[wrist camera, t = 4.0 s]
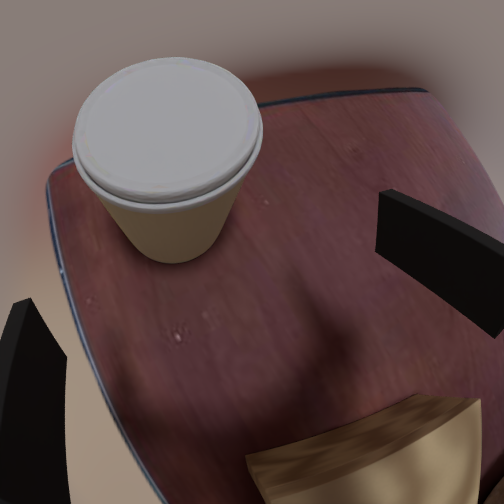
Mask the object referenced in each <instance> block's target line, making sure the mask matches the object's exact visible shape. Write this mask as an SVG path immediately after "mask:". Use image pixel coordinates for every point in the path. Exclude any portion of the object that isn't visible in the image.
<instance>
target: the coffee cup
mask: <svg viewBox="0 0 504 504" xmlns="http://www.w3.org/2000/svg"><path fill="white" fill-rule="evenodd" d="M262 137H263V124H262V119H261V115H260V112H259V109H258V107H257V104H256V101H255V99H254V97H253V96H252V94H251V92H250V91H249V89H248V88H247V87H246V86H245V85H244V83H243V82H242V81H241V80H239V79H238V78H237V77H235V76H234V75H233V74H232V73H230V72H229V71H227V70H225V69H223V68H221V67H219V66H217V65H214V64H212V63H209V62H205V61H201V60H197V59H191V58H179V57H172V58H171V57H170V58H159V59H153V60H148V61H144V62H141V63H137V64H134V65H132V66H129V67H127V68H124V69H123V70H120V71H119V72H117V73H115V74H113V75H112V76H110V77H109V78H107V79H106V80H105V81H104V82H102V83H101V84H100V85H99V86H98V87H97V88H96V89H95V90H94V91H93V92H92V93H91V94H90V96H89V97H88V98H87V99H86V101H85V102H84V104H83V106H82V107H81V109H80V111H79V114H78V117H77V120H76V124H75V128H74V133H73V139H72V150H73V157H74V161H75V164H76V167H77V170H78V172H79V174H80V175H81V177H82V179H83V180H84V181H85V183H86V184H87V185H88V186H89V188H90V189H91V190H92V191H93V192H94V193H96V195H97V196H98V198H99V199H100V201H101V202H102V204H103V205H104V206H105V208H106V209H107V211H108V212H109V213H110V215H111V216H112V218H113V219H114V220H115V222H116V223H117V224H118V226H119V227H120V228H121V229H122V231H123V232H124V233H125V235H126V236H127V237H128V239H129V240H130V241H131V242H132V244H133V245H134V246H135V247H136V248H137V249H138V250H139V251H140V252H141V253H143V254H144V255H145V256H147V257H149V258H151V259H153V260H155V261H159V262H163V263H181V262H186V261H189V260H192V259H194V258H196V257H198V256H200V255H201V254H203V253H204V252H205V251H206V250H208V249H209V248H210V247H211V246H212V244H213V243H214V242H215V240H216V238H217V237H218V235H219V233H220V231H221V229H222V227H223V225H224V223H225V220H226V218H227V216H228V214H229V212H230V210H231V207H232V205H233V203H234V201H235V199H236V197H237V194H238V192H239V190H240V188H241V186H242V183H243V181H244V179H245V176H246V175H247V173H248V172H249V170H250V169H251V167H252V166H253V164H254V162H255V160H256V158H257V156H258V154H259V151H260V148H261V143H262Z"/></svg>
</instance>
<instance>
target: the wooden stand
mask: <svg viewBox="0 0 504 504" xmlns="http://www.w3.org/2000/svg"><path fill="white" fill-rule="evenodd" d="M481 450H482V422H481V399H477V398H456V397H441V396H429V395H418V394H416V395H414V396H412V397H410V398H408V399H406V400H404V401H402V402H399V403H397V404H395V405H393V406H391V407H389V408H387V409H384V410H382V411H380V412H377V413H375V414H373V415H370V416H368V417H366V418H363V419H361V420H358V421H356V422H353V423H351V424H348V425H345V426H343V427H340V428H337V429H335V430H332V431H329V432H326V433H323V434H320V435H317V436H314V437H311V438H308V439H305V440H302V441H298V442H295V443H291V444H288V445H284V446H281V447H277V448H273V449H269V450H265V451H261V452H257V453H253V454H249V455H245V459H246V463H247V467H248V471H249V473H250V475H251V477H252V478H253V480H254V482H255V484H256V486H257V488H258V490H259V491H260V493H261V495H262V497H263V499H264V501H265V502H266V504H477V502H478V494H479V484H480V472H481Z"/></svg>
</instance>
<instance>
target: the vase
mask: <svg viewBox="0 0 504 504" xmlns="http://www.w3.org/2000/svg"><path fill="white" fill-rule="evenodd" d="M483 504H504V477H503V478H502V479H501V480H500V481H499V483H498V484H497V485H496V486H495V487H494V489H493V490H492V492H491V493H490V494H489V496H488V497H487V499H486V500H485V502H484V503H483Z"/></svg>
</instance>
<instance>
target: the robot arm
mask: <svg viewBox="0 0 504 504" xmlns="http://www.w3.org/2000/svg"><path fill="white" fill-rule="evenodd" d="M375 252H376V253H378V254H379V255H381V256H382V257H384V258H385V259H387V260H388V261H390V262H391V263H392V264H394V265H395V266H397V267H398V268H400V269H401V270H403V271H404V272H406V273H407V274H408V275H410V276H411V277H413V278H414V279H416V280H417V281H418V282H420V283H421V284H423V285H424V286H425V287H427V288H428V289H429V290H431V291H432V292H434V293H435V294H436V295H438V296H439V297H440V298H442V299H443V300H445V301H446V302H447V303H449V304H450V305H451V306H453V307H454V308H455V309H457V310H458V311H459V312H461V313H462V314H463V315H464V316H466V317H467V318H468V319H470V320H471V321H472V322H474V323H475V324H476V325H477V326H479V327H480V328H481V329H482V330H484V331H485V332H486V333H487V334H489V335H490V336H491V337H492V338H494V339H495V338H496V337H497V336H498V335H499V334H500V332H501V331H502V330H503V329H504V244H503V243H501V242H499V241H498V240H496V239H494V238H492V237H490V236H489V235H487V234H485V233H483V232H481V231H479V230H478V229H476V228H474V227H472V226H470V225H468V224H466V223H464V222H462V221H460V220H458V219H456V218H454V217H452V216H450V215H448V214H446V213H444V212H442V211H440V210H438V209H436V208H434V207H431V206H429V205H427V204H425V203H423V202H421V201H418V200H416V199H414V198H412V197H409V196H407V195H405V194H403V193H400V192H398V191H396V190H393V189H389V190H386V191H382V192H379V205H378V222H377V236H376V248H375ZM66 366H67V356H66V355H65V353H64V352H63V350H62V349H61V347H60V346H59V344H58V343H57V341H56V340H55V338H54V336H53V335H52V333H51V332H50V330H49V328H48V327H47V325H46V323H45V322H44V320H43V319H42V317H41V315H40V313H39V312H38V310H37V308H36V306H35V304H34V303H33V301H32V299H31V298H28V299H25V300H22V301H19V302H16V303H14V304H13V306H12V309H11V311H10V314H9V316H8V319H7V322H6V325H5V328H4V330H3V333H2V337H1V340H0V504H71V501H70V493H69V485H68V475H67V465H66V464H67V463H66V447H65V384H66V383H65V382H66Z"/></svg>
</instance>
